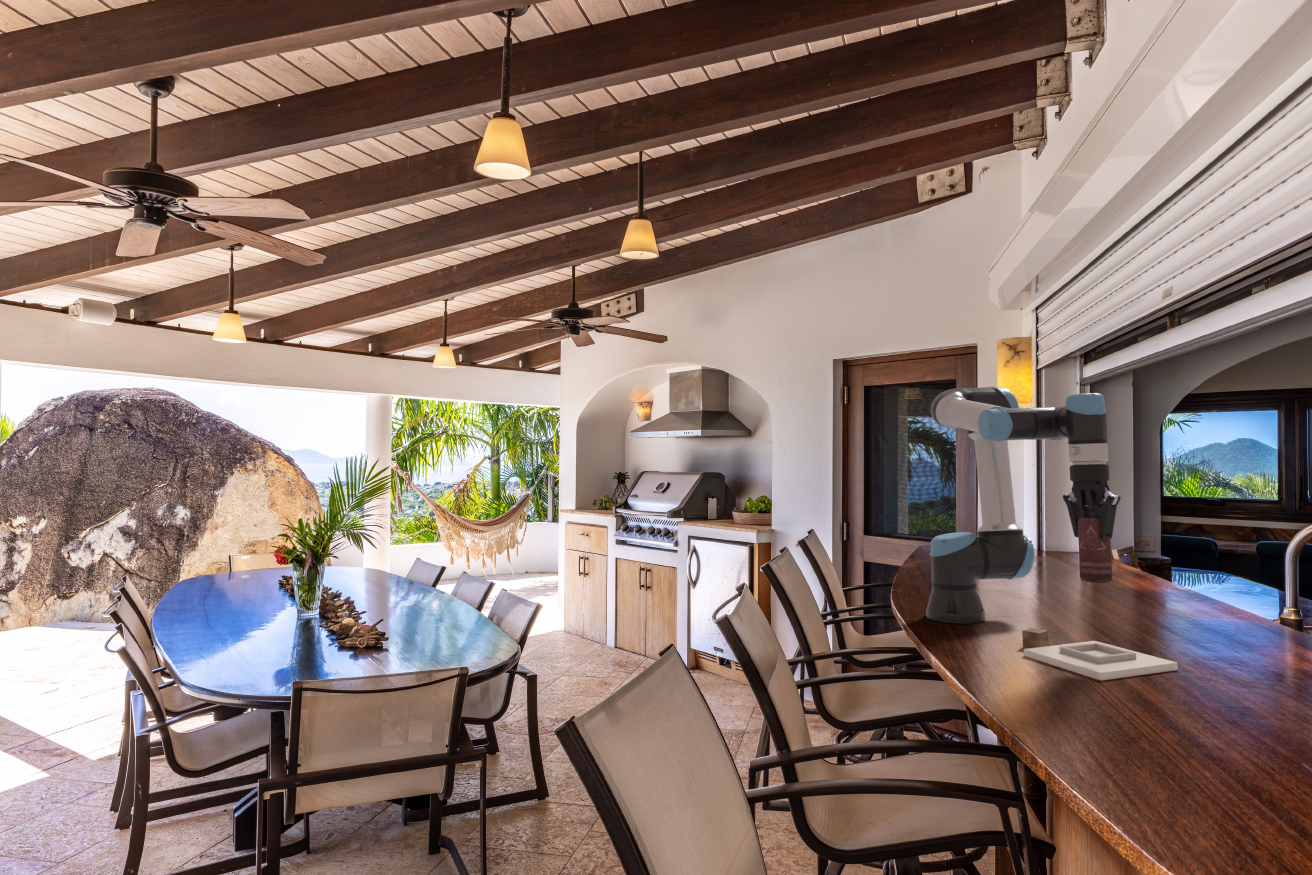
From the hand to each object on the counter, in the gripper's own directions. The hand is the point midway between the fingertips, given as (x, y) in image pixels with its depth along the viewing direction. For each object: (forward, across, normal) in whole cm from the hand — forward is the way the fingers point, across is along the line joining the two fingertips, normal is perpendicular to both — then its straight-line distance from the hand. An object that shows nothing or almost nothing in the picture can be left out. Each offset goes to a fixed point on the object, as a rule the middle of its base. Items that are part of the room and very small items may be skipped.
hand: (1094, 571), depth 162 cm
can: (+2, 0, +1) cm, 2 cm away
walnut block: (+19, -13, -4) cm, 24 cm away
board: (+19, +2, -3) cm, 19 cm away
